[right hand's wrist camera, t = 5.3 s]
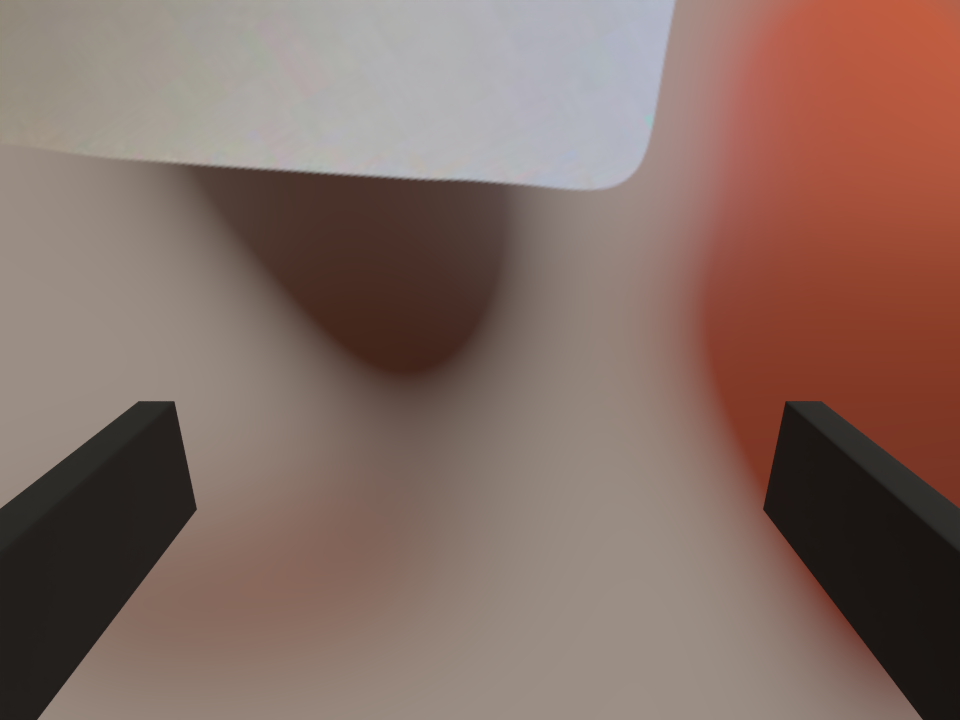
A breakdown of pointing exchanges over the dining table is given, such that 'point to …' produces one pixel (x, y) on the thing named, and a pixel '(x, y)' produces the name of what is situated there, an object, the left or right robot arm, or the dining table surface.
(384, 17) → the dining table surface
